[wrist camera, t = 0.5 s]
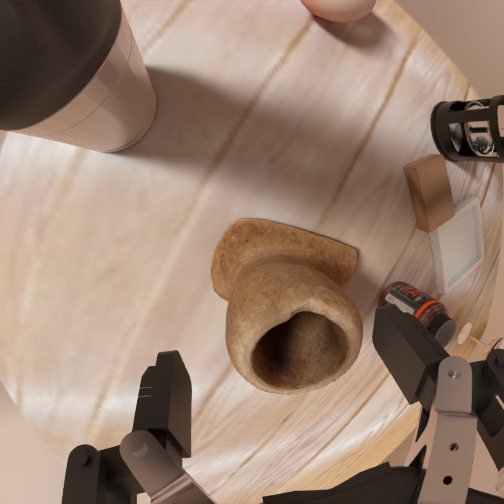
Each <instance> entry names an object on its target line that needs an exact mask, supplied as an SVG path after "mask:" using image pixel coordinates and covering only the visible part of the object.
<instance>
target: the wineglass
mask: <svg viewBox="0 0 504 504" xmlns="http://www.w3.org/2000/svg"><path fill="white" fill-rule="evenodd" d="M471 330H472V323H470V322H469V323H467V324H466V325H465V326H464V327H463V328H462V330H461V332H460V333H459V336H458V344H462V343H464V342H465V341H466V340H467V338H468V337H469V338H471V339H472V340H473V341H475V342H476V343H477V344H479V345H480V346H482V347H483V348H484V351H485V352H484V356H483V360H485V359H486V357H487V355H488V353H489V352H490V351H491V350H493V349H497V348H499V349H504V338H497V339H495V340H493V341H491V342H490V343H489V344H487V345H485V344H484V343H482V342H480V341H479V340H477V339H475V338H474V337H472V336H470V333H471Z"/></svg>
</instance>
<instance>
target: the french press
mask: <svg viewBox="0 0 504 504" xmlns="http://www.w3.org/2000/svg"><path fill="white" fill-rule="evenodd" d="M498 105H504V95H500V96H494V97H493V98H492V99H482V100H473V101H465V102H462V101H452V102H446V101H443V102H439V103H438V104H437V105H435V107H434V108H433V111H432V114H431V132H432V136H433V139H434V142H435V145H436V147H437V149H438V150H439V152H440V154H441V155H443V157H444V158H446V159H447V160H449V161H453V162H456V161H459V160H461V161H482V162H496V163H504V137H500V133H499V131H504V128H499V127H498V117H497V110H498ZM484 106H489V108H485V107H484ZM449 111H452V112H449ZM452 123H461V126H462V130H463V144H462V147H461V149H460V150H459V152H457V150H456V149H455V147H454V145H453V142H452V139H451V136H450V132H449V125H448V124H452ZM492 152H497V153H498V155H499V157H490V156H491V155H492Z"/></svg>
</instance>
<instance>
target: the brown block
mask: <svg viewBox="0 0 504 504" xmlns="http://www.w3.org/2000/svg"><path fill="white" fill-rule="evenodd" d="M403 168H404V171H405V175H406V179H407V182H408V186H409V190H410V194H411V198H412V202H413V206H414V210H415V215H416V219H417V224H418V229H420V230H423V231H427V232H430V233H431V232H432V231H434V230H435V229H437V228H438V227H440V226H441V225H442V224H444V223H445V222H447V221H448V220H450V219H451V218H452V217H454V216H455V210H454V204H453V199H452V193H451V188H450V183H449V179H448V174H447V170H446V166H445V162H444V158H443V155H438V154H430V155H428V156H426V157H424V158H422V159H420V160H417V161H415V162H413V163H411V164H409V165H407V166H405V167H403Z"/></svg>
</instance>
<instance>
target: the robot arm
mask: <svg viewBox="0 0 504 504" xmlns="http://www.w3.org/2000/svg"><path fill="white" fill-rule="evenodd" d="M156 107H157V99H156V94H155V90H154V88H153V85H152V83H151V80H150V77H149V75H148V72H147V70H146V67H145V65H144V62H143V59H142V57H141V54H140V52H139V49H138V46H137V44H136V41H135V39H134V36H133V33H132V31H131V28H130V25H129V23H128V21H127V18H126V15H125V13H124V10H123V7H122V5H121V2H120V0H0V130H5V131H10V132H15V133H20V134H25V135H30V136H35V137H40V138H44V139H49V140H53V141H58V142H62V143H66V144H70V145H75V146H79V147H83V148H86V149H91V150H95V151H99V152H116V151H121V150H123V149H126V148H128V147H130V146H131V145H133V144H134V143H136V142H137V141H138V140H139V139H140V138H142V137H143V136H144V135H145V133H146V132H147V130H148V129H149V128H150V126H151V124H152V122H153V120H154V117H155V113H156ZM372 338H373V344H374V347H375V349H376V351H377V352H378V354H379V356H380V357H381V359H382V360H383V362H384V363H385V365H386V367H387V368H388V370H389V371H390V373H391V375H392V376H393V378H394V380H395V381H396V383H397V384H398V386H399V388H400V389H401V391H402V393H403V394H404V396H405V398H406V399H407V401H408V403H409V404H410V405H411V404H413V403H415V402H418V401H419V402H420V403H421V407H420V411H419V416H418V421H417V426H416V431H415V435H414V439H413V443H412V447H411V450H410V452H409V454H408V456H407V459H406V461H405V464H404V466H396V467H390V465H389V462H386V463H383V464H381V465H378V466H375V467H373V468H370V469H368V470H365V471H362V472H359V473H358V474H356V475H355V476H353V477H351V478H350V479H348V480H346V481H345V482H343V483H341V484H339V485H337V486H336V487H334V488H332V489H328V490H310V491H292V492H287V493H282V494H276V495H270V496H264V497H262V498H263V503H260V504H504V409H503V408H502V406H501V405H500V403H499V402H498V400H497V399H496V396H497V395H498V396H499V397H500V399H501V400H502V402H503V403H504V349H499V348H497V349H493V350H491V351H490V352H489V353H488V355H487V357H486V359H485V360H482V361H478V362H472V363H468V362H467V361H466V360H465V359H463V358H461V357H457V356H450V355H449V354H448V353H447V352H446V351H445V349H444V348H443V347H442V346H441V345H440V343H439V342H438V341H437V340H436V339H435V338H434V336H433V335H432V334H431V333H429V331H428V329H427V328H426V327H424V325H423V324H422V323H421V321H420V320H419V319H418V318H417V317H415V316H414V315H412V314H410V313H408V312H404V313H403V312H402V311H401V310H400V309H399V308H398V306H397V305H396V304H389V305H386V306H383V307H379V308H377V309H376V312H375V320H374V328H373V336H372ZM138 397H139V398H138V400H137V405H136V411H135V417H134V423H133V429H132V432H131V433H129V434H128V435H126V436H125V437H124V438H123V440H122V441H121V444H120V445H118V446H115V447H111V448H107V449H104V450H100V451H98V450H97V449H95V448H94V447H93V446H91V445H86V444H84V445H79V446H77V447H75V448H74V449H73V450H72V451H71V453H70V455H69V457H68V462H67V468H66V475H65V481H64V488H63V496H62V504H137V494H140V493H144V492H146V493H147V494H148V495H149V497H150V498H151V504H218V503H217V502H216V501H215V500H214V499H213V498H212V497H211V496H209V495H208V494H207V493H206V492H205V491H204V490H203V489H202V488H201V487H200V486H199V485H198V484H197V483H196V482H195V481H194V480H193V479H192V477H191V476H190V475H189V474H188V473H187V472H186V471H185V470H184V469H183V468H182V458H190V457H191V401H192V386H191V380H190V376H189V374H188V372H187V370H186V367H185V365H184V363H183V361H182V358H181V356H180V354H179V352H178V351H177V350H174V351H167V352H159V353H158V355H157V361H156V366H149V367H148V368H147V370H146V371H145V373H144V374H143V376H142V378H141V384H140V389H139V394H138ZM476 430H477V431H478V433H479V435H480V436H481V438H482V440H483V442H484V444H485V446H486V447H487V449H488V451H489V453H490V455H491V457H492V459H493V461H494V463H495V465H496V467H497V469H498V471H499V473H498V477H497V482H496V484H495V489H496V490H497V491H499V495H498V496H495V495H491V494H488V493H484V492H481V491H478V490H475V489H472V488H469V482H470V477H471V471H472V464H473V458H474V450H475V442H476Z"/></svg>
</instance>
